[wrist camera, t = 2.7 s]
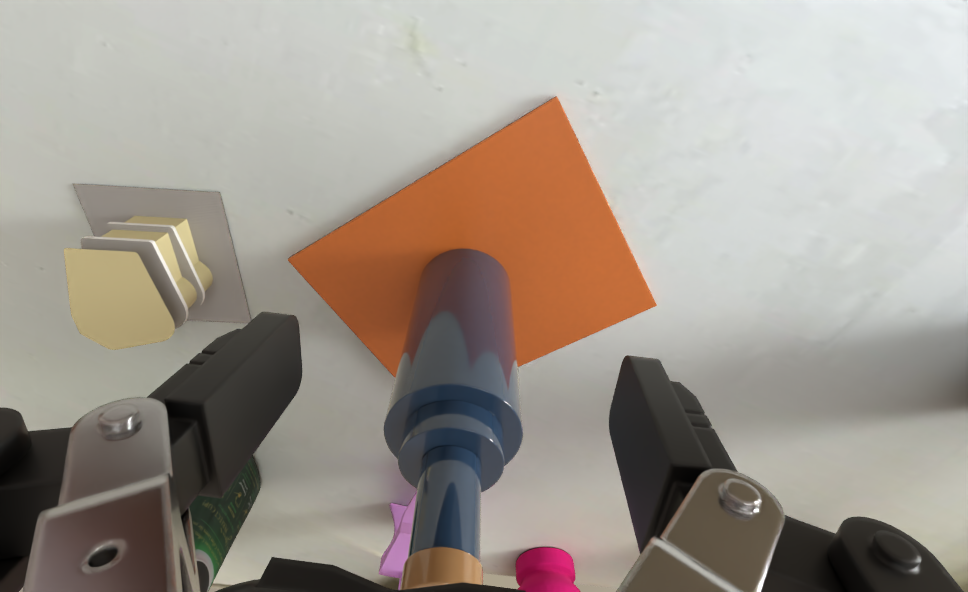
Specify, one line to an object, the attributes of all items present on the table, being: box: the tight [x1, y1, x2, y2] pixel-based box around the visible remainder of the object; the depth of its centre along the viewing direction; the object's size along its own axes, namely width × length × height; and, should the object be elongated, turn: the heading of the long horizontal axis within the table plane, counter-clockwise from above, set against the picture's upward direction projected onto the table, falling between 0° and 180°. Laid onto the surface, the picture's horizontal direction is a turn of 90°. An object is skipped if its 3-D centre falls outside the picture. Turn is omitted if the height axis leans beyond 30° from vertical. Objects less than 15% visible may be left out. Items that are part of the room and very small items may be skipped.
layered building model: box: [64, 184, 251, 350], centre depth 30 cm, size 10×9×6 cm
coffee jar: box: [189, 456, 260, 592], centre depth 35 cm, size 10×8×19 cm
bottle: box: [384, 249, 523, 590], centre depth 24 cm, size 6×6×20 cm
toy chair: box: [379, 492, 417, 590], centre depth 38 cm, size 8×9×15 cm
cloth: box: [288, 96, 657, 378], centre depth 33 cm, size 20×16×1 cm
